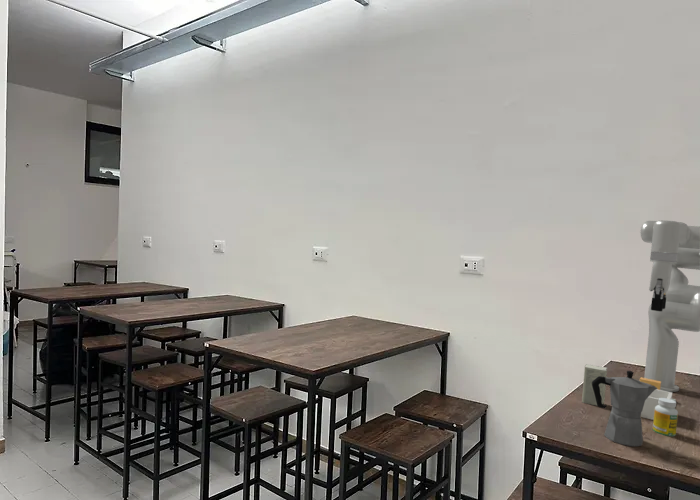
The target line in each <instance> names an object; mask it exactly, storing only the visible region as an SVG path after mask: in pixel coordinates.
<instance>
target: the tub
mask: <svg viewBox="0 0 700 500" xmlns="http://www.w3.org/2000/svg"><path fill="white" fill-rule="evenodd" d="M659 398H667V399H671V400H672V399H673V392H668V391H662V390H658V389H656V390H654V391H653V392H652V393H651V394H650V395H649V397H648V398H647V399H646V400H645V403H644V406H643V410H642V412H641V418H644V419H649V420H652V421H654V412H655V407H656V406H657V405H659V403H658V401H659Z"/></svg>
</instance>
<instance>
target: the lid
mask: <svg viewBox="0 0 700 500" xmlns="http://www.w3.org/2000/svg"><path fill="white" fill-rule="evenodd" d="M639 379H640V380H638V381H641V382H644V383H647V384H651V385H653V386H655V387H657V389H658V390H660V388H661V381H656V380H652V379H647V378H644V377H642V376H641V377H640V378H639ZM672 400H674V401H676V402H677V400H676V398H672Z"/></svg>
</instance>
